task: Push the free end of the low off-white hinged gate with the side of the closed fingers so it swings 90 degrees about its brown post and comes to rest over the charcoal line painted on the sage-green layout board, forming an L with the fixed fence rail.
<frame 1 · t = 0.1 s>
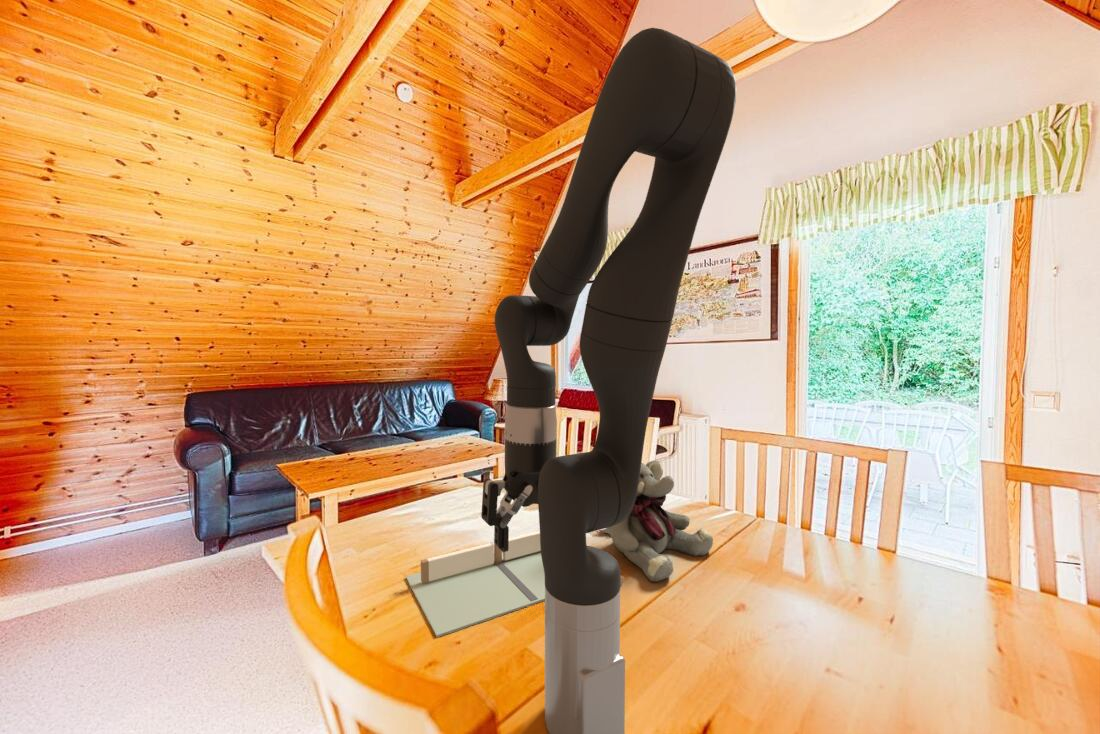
hand: (529, 542, 66), 17 cm above the table, tool pointing down, fingers open, 8 cm apart
gate: (458, 562, 89), point 3 cm above the table, hinge at 0.0°
plush elephant: (644, 549, 102), on the table
lion figurine: (591, 601, 81), on the table, touching layout board
layout board: (503, 579, 88), on the table
fence fixed: (498, 564, 94), resting on layout board
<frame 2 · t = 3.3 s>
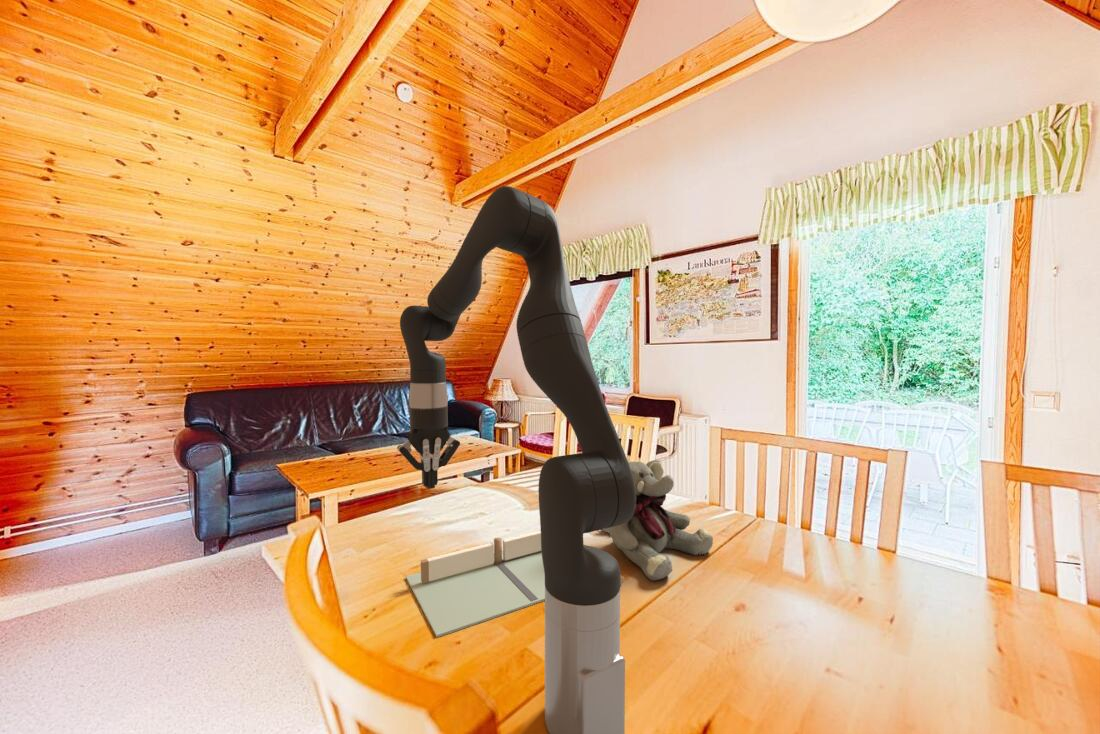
hand: (430, 487, 92), 17 cm above the table, tool pointing down, fingers closed
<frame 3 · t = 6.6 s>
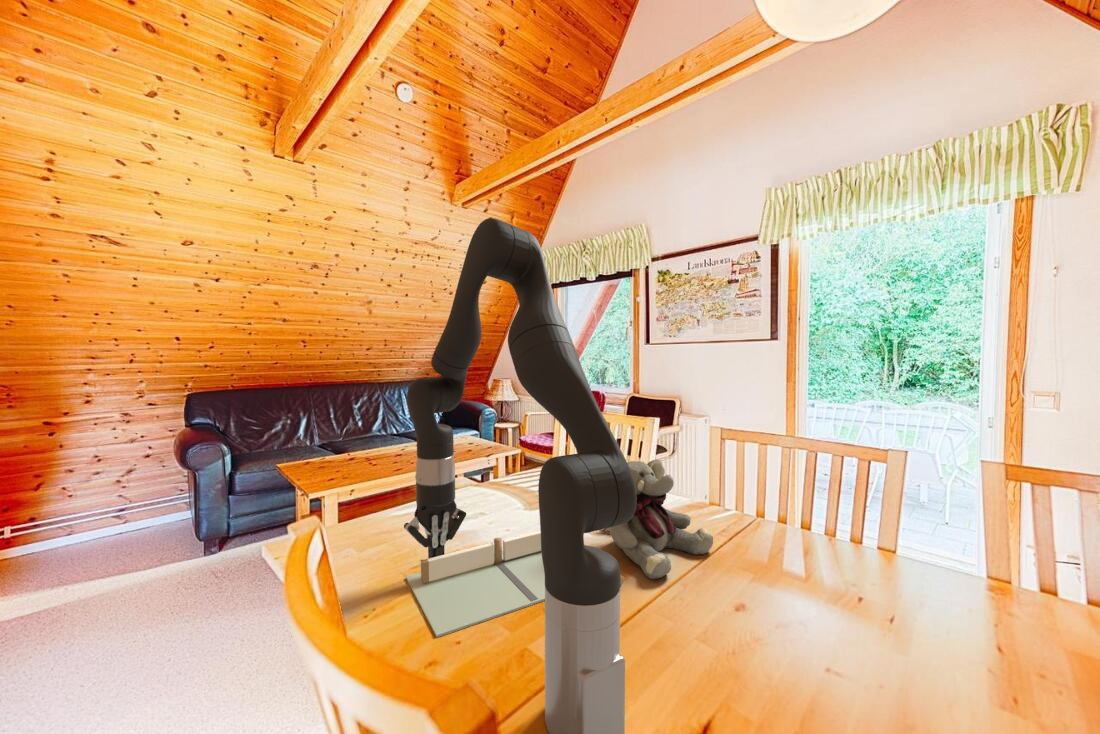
hand: (436, 562, 89), 3 cm above the table, tool pointing down, fingers closed
gate: (458, 562, 89), point 3 cm above the table, hinge at 0.3°, touching gripper
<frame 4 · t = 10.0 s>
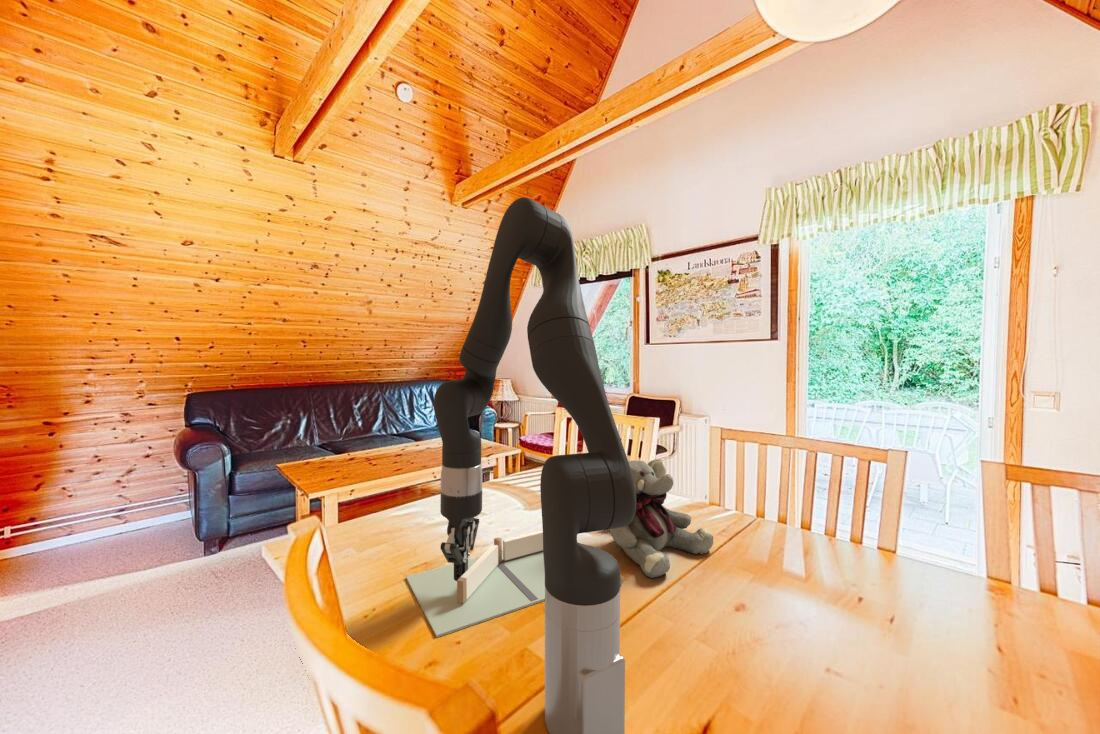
hand: (460, 579, 82), 3 cm above the table, tool pointing down, fingers closed
gate: (479, 571, 86), point 3 cm above the table, hinge at 41.4°, touching gripper
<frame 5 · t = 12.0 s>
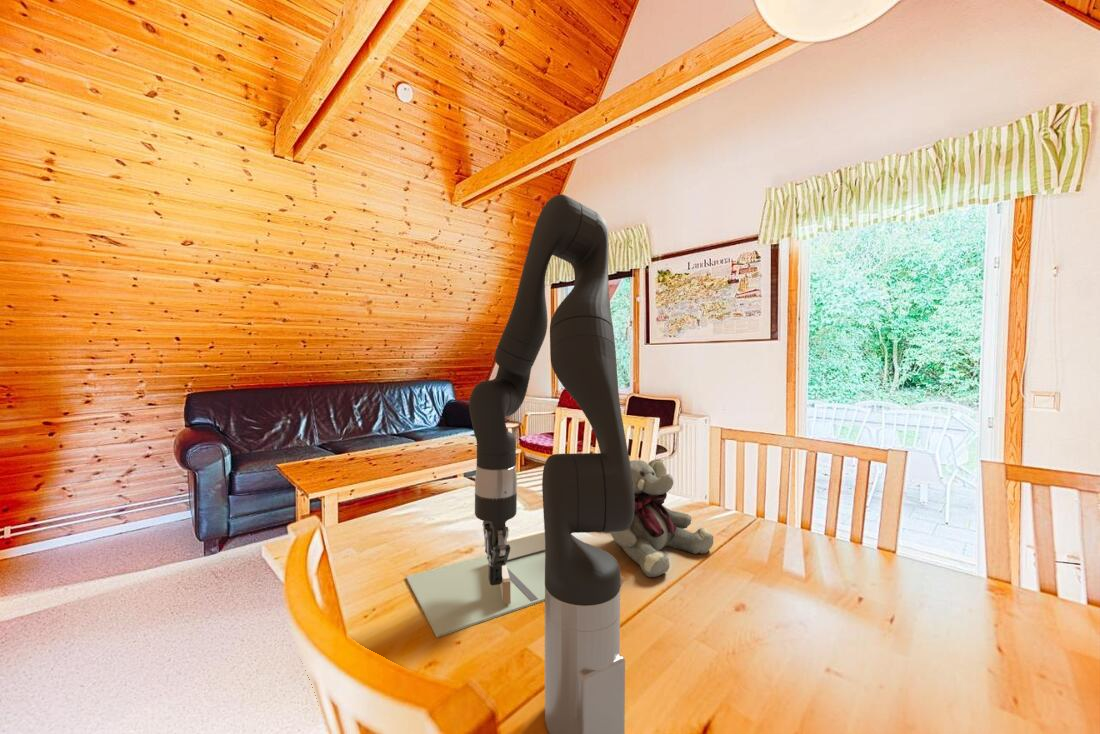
hand: (495, 582, 81), 3 cm above the table, tool pointing down, fingers closed
gate: (502, 572, 85), point 3 cm above the table, hinge at 71.7°, touching gripper
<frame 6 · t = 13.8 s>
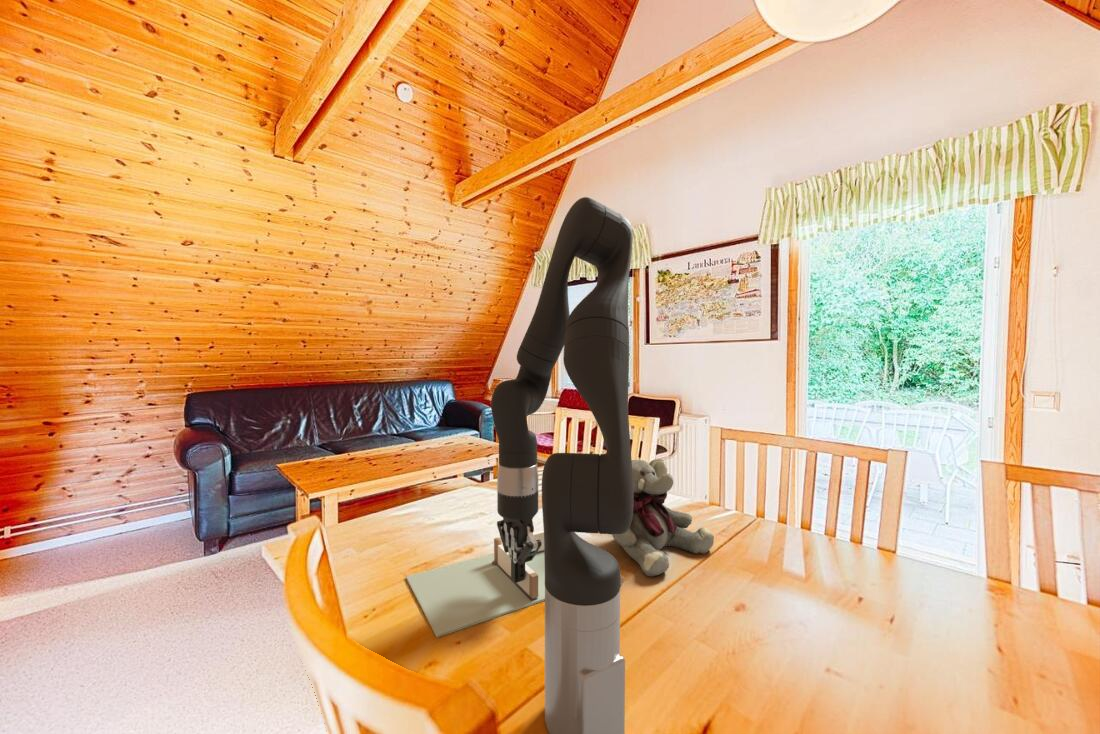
hand: (517, 579, 82), 3 cm above the table, tool pointing down, fingers closed
gate: (516, 569, 86), point 3 cm above the table, hinge at 90.7°, touching gripper
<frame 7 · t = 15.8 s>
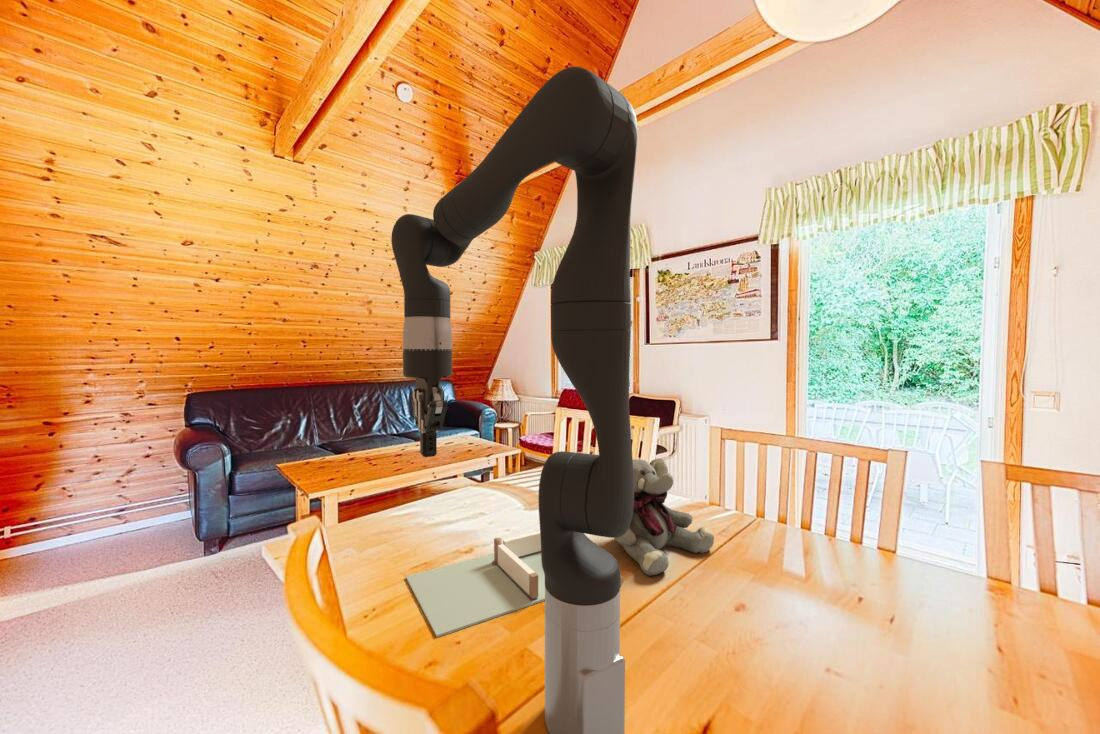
hand: (428, 455, 71), 29 cm above the table, tool pointing down, fingers closed
gate: (516, 569, 86), point 3 cm above the table, hinge at 90.7°
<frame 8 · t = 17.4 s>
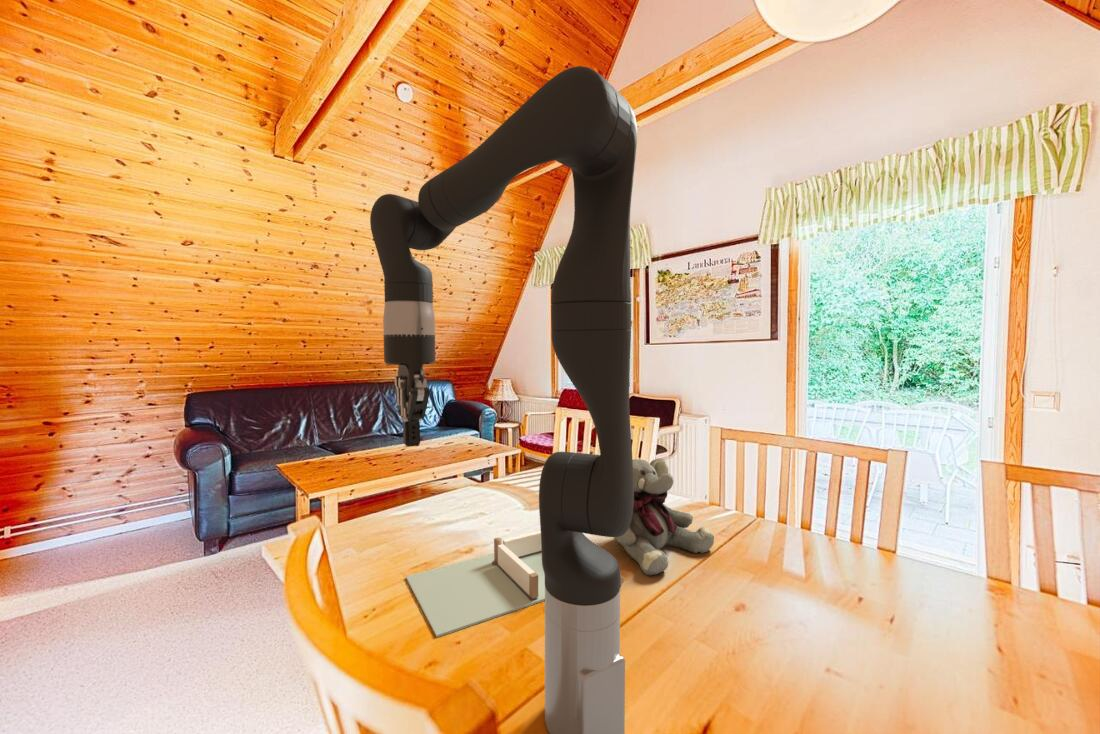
hand: (411, 445, 69), 31 cm above the table, tool pointing down, fingers closed
at the end: gate at +91° (first picture: +0°); gate touching nothing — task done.
